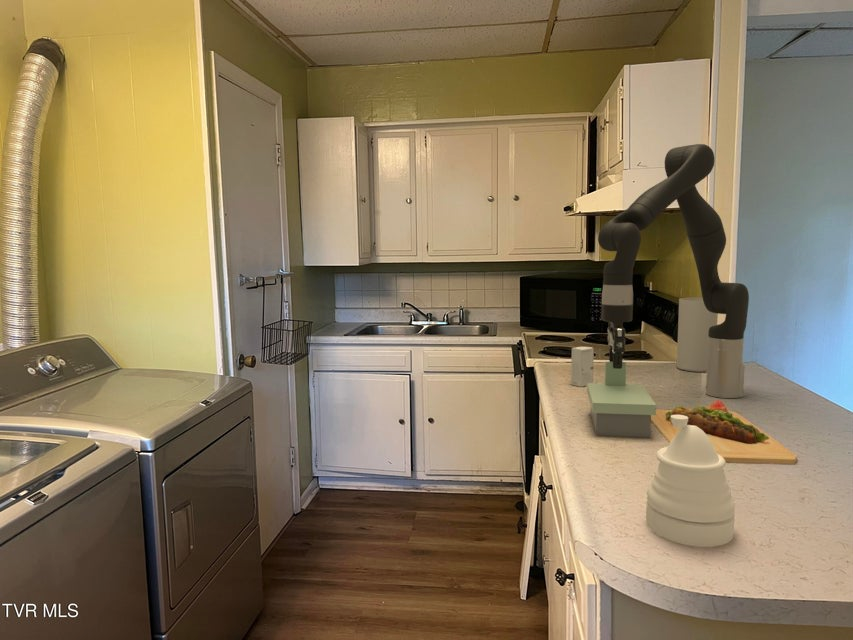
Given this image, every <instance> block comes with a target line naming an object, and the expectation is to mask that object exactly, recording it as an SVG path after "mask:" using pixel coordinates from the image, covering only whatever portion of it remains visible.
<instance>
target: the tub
mask: <svg viewBox="0 0 853 640" xmlns="http://www.w3.org/2000/svg"><path fill="white" fill-rule="evenodd" d="M589 413H590V417H591V420H592V421H591V422H592V425H593V428H594V433H595V436H601V437H602V436H603V437H604V436H605V437H618V438H619V437H623V438H624V437H625V438H643V439H644V438H647V439H651V430H652V429H651V425H652V422H651V415H635V414H608V413H593V412H592V408H591V407H590V411H589Z"/></svg>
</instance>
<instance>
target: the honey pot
mask: <svg viewBox="0 0 853 640" xmlns="http://www.w3.org/2000/svg"><path fill="white" fill-rule="evenodd" d="M671 422H672V424H673V426H674V427H675V428H677V429H681V430H680V431H679V432H678V433H677V434H676V435H675V436H674V438H673V439H672V441H671V442H670V443H669V444H668V445H667V446H665V447H662V448H660V449H658V450H657V452H656V454H655V456H656V459H657V460H658V461H659V464H658V466H657V467H656V468H655V469H654V473H653V474H654V475H653V476H652V479H651V483H650V484H649V485H648V488H647V491H646V495H647V497H646V505H645V506H646V508H645V509H646V510H645V511H646V512H645V521H646V525H647V527H648V528H649V529H650V530H651V531H652V532H653V533H655V535H657V536H660V537H661V538H663V539H666V540H667V541H671V542H674V543H677V544H681V545H685V546H689V547H690V546H691V547H699V548H701V547H702V548H703V547H704V548H709V547H710V548H712V547H713V548H714V547H718V546H723V545H725V544H728V543H730V542H731V541H732V540H733V539H734V533H735V530H734V529H735V513H736V512H735V511H736V510H735V508H736V503H735V499H734V497H733V496H732V490H731V487H730V486H729V484H730V483H729V479H728V478H727V477H728V476H726V473H725V471H724V468H725V467H726V462H725V460H724V458H723V457H722V456H720V455H719V454H717V452H716V450H715V448H714V446H713V444H712V442H711V441H710V439H709V438H708V436H707V435H706V434H705V433H704V431H703V430H701V429H700V428H698V427H697V426H693V425H687V422H688V417H687V416H684V415H671Z"/></svg>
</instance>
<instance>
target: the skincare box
mask: <svg viewBox="0 0 853 640" xmlns="http://www.w3.org/2000/svg"><path fill="white" fill-rule="evenodd" d="M594 352H595V351H594V347H590V346H577V347H572V348H571V372H570V373H571V377H570V378H571V379H570V380H571V383H570V385H572V386H574V385H575V387H578V386H579V388H582V387H587V383H594V359H595V358H594V357H595V356H594V354H595V353H594Z"/></svg>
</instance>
